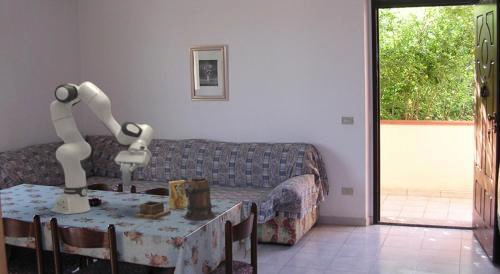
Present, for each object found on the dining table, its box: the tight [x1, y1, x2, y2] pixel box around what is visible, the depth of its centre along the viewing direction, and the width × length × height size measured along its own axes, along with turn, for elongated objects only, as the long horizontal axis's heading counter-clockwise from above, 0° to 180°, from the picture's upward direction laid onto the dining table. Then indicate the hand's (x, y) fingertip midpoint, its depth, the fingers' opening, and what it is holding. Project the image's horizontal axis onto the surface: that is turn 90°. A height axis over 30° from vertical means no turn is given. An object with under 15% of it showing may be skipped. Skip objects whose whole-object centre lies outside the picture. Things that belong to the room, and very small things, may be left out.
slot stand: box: [133, 200, 171, 220], centre depth 298 cm, size 14×14×6 cm
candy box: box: [168, 179, 187, 210], centre depth 314 cm, size 9×4×15 cm, turn 119°
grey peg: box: [121, 164, 132, 186], centre depth 297 cm, size 4×4×11 cm
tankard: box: [183, 177, 217, 222], centre depth 288 cm, size 24×17×20 cm
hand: (125, 170), depth 297 cm, fingers closed on grey peg, 4 cm apart
